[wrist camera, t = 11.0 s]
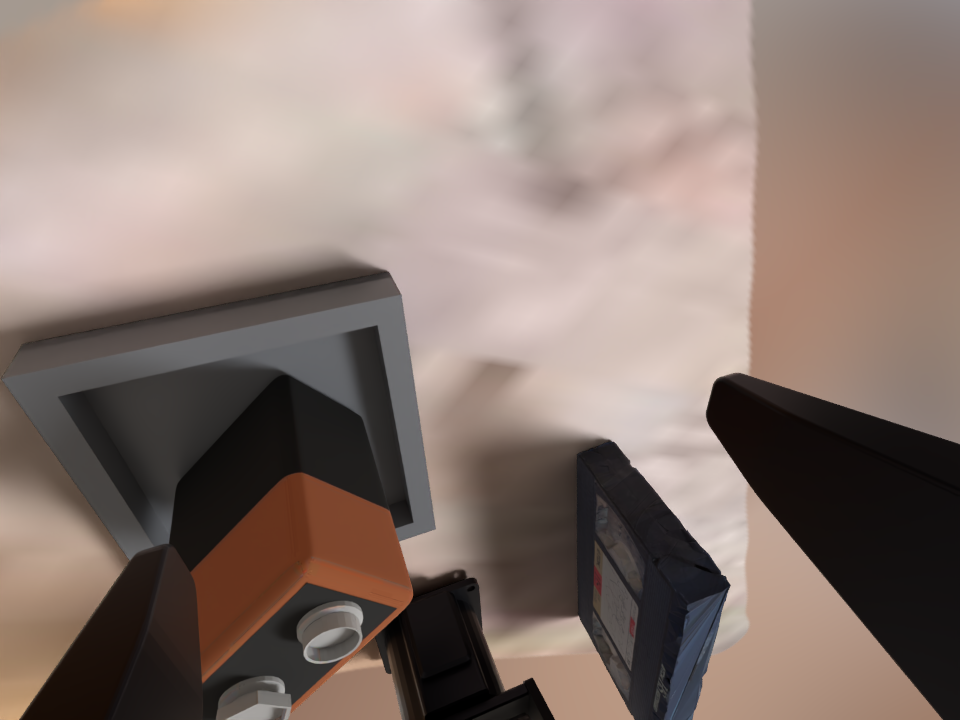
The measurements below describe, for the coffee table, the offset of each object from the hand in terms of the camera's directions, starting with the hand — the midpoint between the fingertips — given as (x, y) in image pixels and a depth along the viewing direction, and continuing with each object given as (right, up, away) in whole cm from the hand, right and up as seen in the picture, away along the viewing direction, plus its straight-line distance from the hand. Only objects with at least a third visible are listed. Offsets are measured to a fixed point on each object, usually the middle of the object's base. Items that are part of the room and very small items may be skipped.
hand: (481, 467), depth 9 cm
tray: (-9, -2, +14) cm, 17 cm away
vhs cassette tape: (+7, -10, +28) cm, 30 cm away
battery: (-9, -2, +14) cm, 16 cm away
